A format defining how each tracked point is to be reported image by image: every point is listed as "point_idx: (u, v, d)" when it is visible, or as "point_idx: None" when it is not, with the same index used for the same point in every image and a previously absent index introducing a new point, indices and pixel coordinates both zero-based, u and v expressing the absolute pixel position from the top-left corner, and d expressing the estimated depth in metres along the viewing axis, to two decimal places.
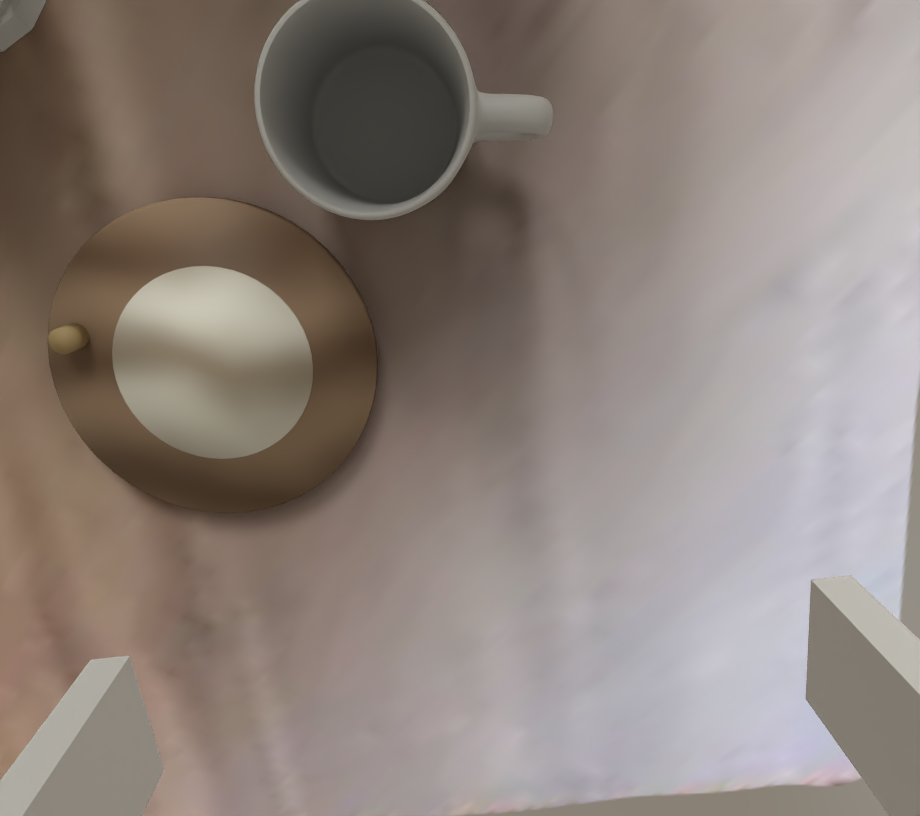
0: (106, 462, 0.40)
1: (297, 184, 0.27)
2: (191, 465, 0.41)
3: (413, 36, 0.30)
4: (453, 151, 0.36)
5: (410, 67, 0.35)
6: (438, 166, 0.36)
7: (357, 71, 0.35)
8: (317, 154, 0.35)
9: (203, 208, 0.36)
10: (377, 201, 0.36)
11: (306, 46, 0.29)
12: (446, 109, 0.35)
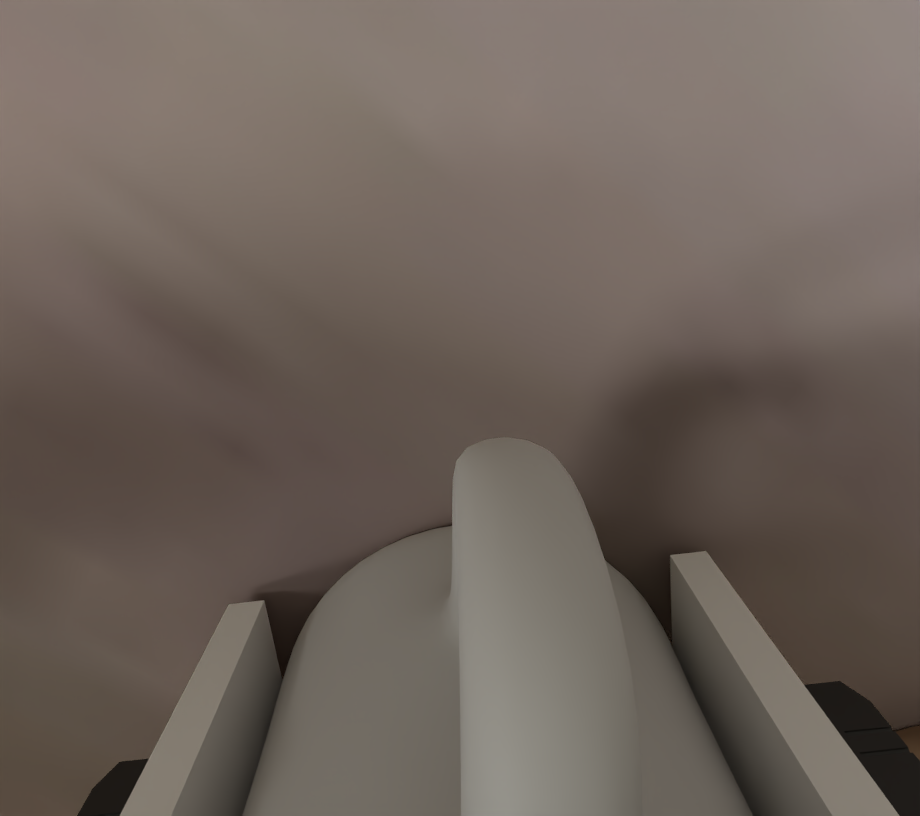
0: None
1: None
2: None
3: None
4: None
5: None
6: None
7: None
8: None
9: None
10: None
11: None
12: None
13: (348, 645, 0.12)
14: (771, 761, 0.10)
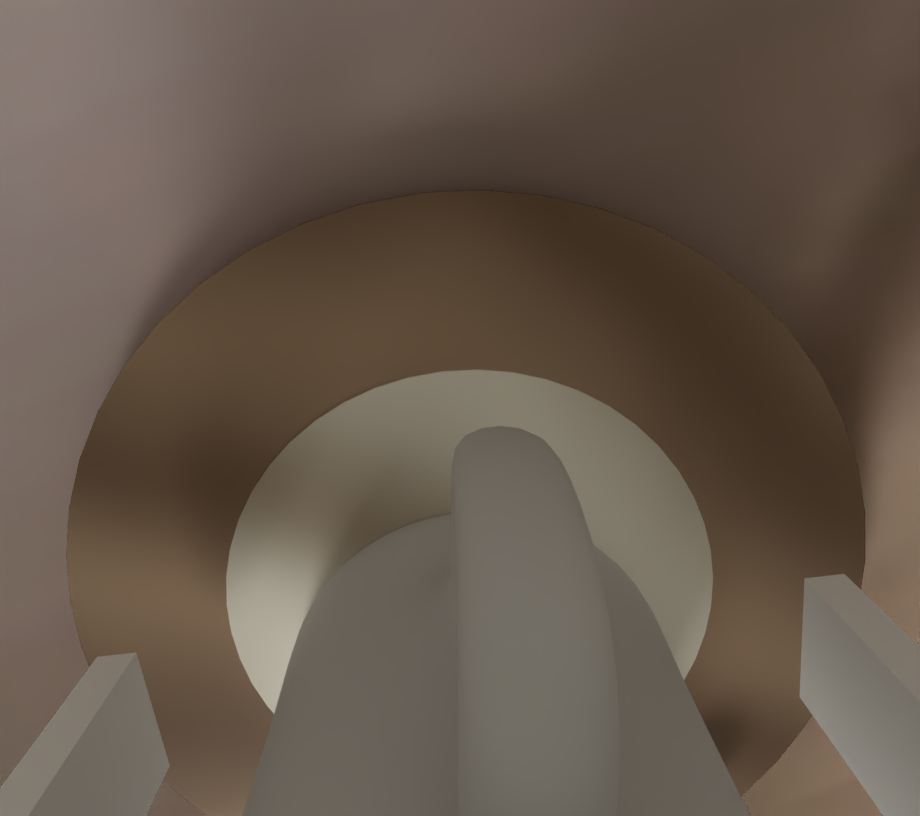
0: (858, 538, 0.16)
1: None
2: (690, 430, 0.15)
3: None
4: None
5: None
6: None
7: None
8: None
9: None
10: None
11: None
12: None
13: (352, 625, 0.12)
14: None
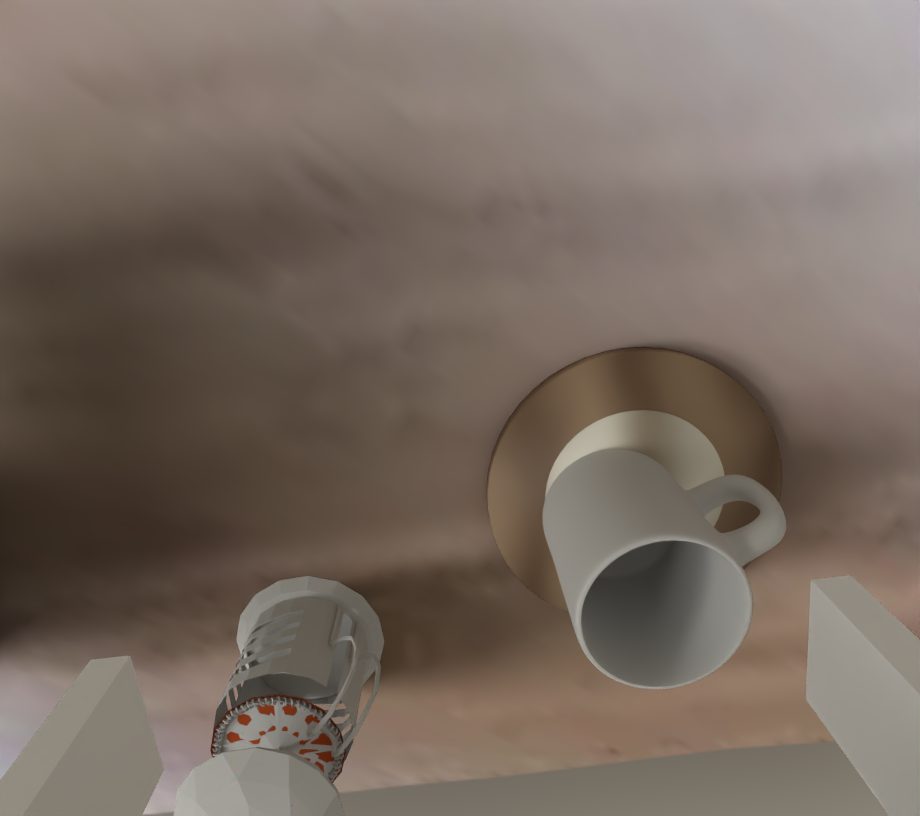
0: None
1: (638, 685, 0.33)
2: (726, 523, 0.43)
3: None
4: None
5: None
6: None
7: None
8: None
9: (497, 491, 0.42)
10: (634, 573, 0.43)
11: None
12: None
13: (660, 474, 0.39)
14: None
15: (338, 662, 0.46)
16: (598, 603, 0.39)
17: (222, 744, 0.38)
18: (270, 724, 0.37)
